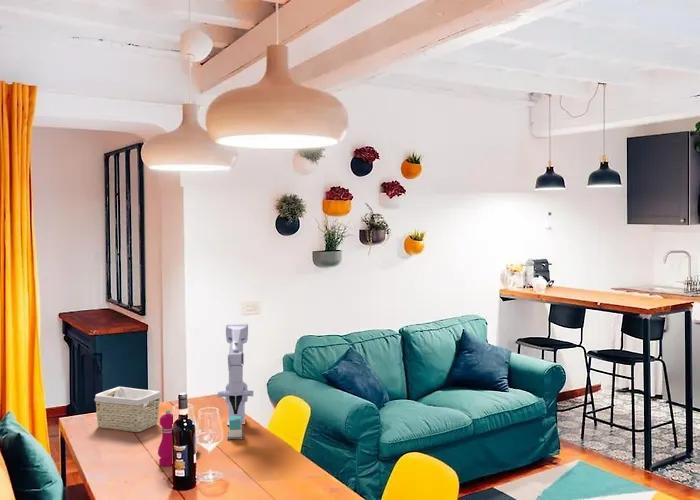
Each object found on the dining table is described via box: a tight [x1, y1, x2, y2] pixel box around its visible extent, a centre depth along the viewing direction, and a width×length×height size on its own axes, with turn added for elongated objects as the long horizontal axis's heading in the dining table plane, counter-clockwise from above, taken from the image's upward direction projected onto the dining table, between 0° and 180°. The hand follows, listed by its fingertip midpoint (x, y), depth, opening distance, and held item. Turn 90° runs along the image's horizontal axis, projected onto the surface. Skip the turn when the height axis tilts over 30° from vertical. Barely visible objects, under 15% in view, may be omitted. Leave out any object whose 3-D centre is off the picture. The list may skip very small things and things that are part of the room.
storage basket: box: [94, 386, 162, 433], centre depth 287 cm, size 24×16×15 cm
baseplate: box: [227, 430, 244, 439], centre depth 273 cm, size 7×6×1 cm
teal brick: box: [228, 416, 241, 431], centre depth 273 cm, size 6×4×4 cm
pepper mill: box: [157, 409, 174, 467], centre depth 243 cm, size 7×7×20 cm
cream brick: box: [228, 425, 243, 437], centre depth 273 cm, size 6×5×3 cm
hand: (235, 413), depth 273 cm, fingers closed
